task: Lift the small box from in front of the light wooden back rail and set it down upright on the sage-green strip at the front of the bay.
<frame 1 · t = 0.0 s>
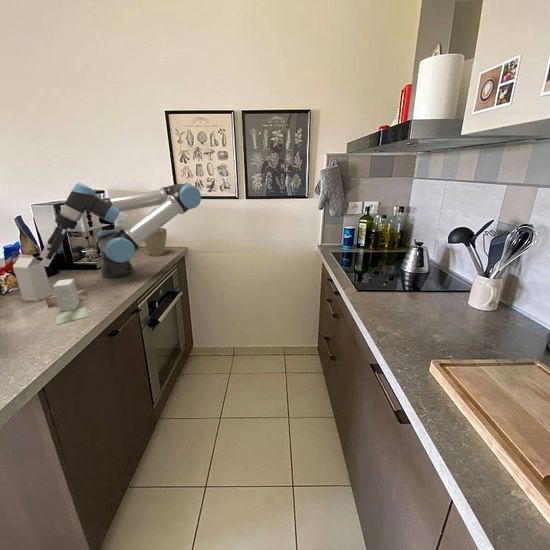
hand: (43, 261, 126), 15 cm above the countertop, tool tilted 35°, fingers open, 13 cm apart
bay: (71, 311, 117), on the countertop
milk carton: (38, 298, 129), on the countertop
small box: (70, 307, 120), on the countertop, touching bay
plant pot: (157, 254, 193), on the countertop
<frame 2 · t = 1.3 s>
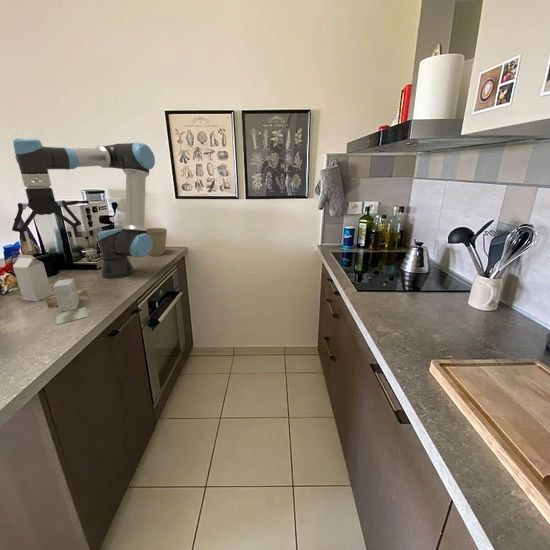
hand: (53, 247, 111), 25 cm above the countertop, tool pointing down, fingers open, 13 cm apart
nothing on the countertop moved.
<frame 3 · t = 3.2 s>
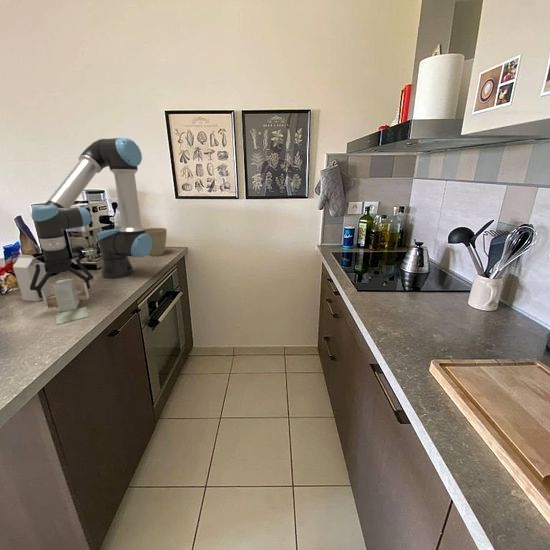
hand: (67, 300, 118), 3 cm above the countertop, tool pointing down, fingers open, 13 cm apart
nothing on the countertop moved.
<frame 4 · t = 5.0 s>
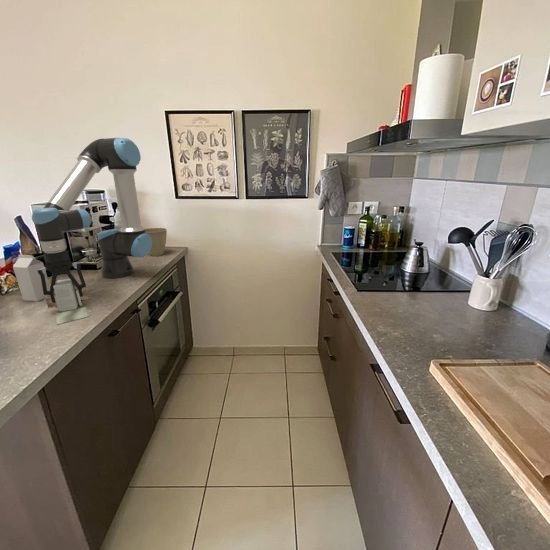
hand: (70, 306, 119), 0 cm above the countertop, tool pointing down, fingers closed on small box, 6 cm apart
small box: (70, 307, 120), on the countertop, touching gripper
everything else where it was.
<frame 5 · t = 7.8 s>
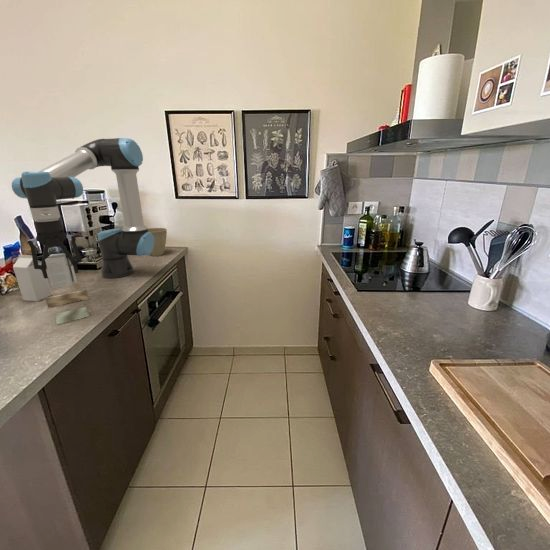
hand: (63, 283, 108), 13 cm above the countertop, tool pointing down, fingers closed on small box, 6 cm apart
small box: (64, 284, 109), point 13 cm above the countertop, touching gripper
everything else where it was.
when the fingers open (1 cm above the countertop, at t = 10.4 s): small box stays where it is, resting on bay.
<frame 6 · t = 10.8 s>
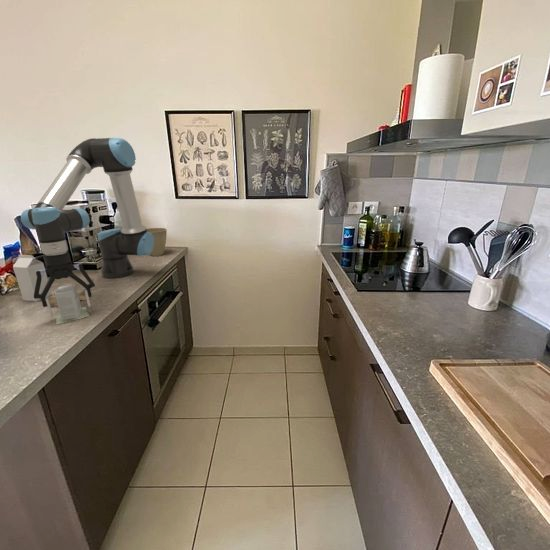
hand: (70, 309, 112), 3 cm above the countertop, tool pointing down, fingers open, 11 cm apart
small box: (72, 315, 113), resting on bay
everything else where it was.
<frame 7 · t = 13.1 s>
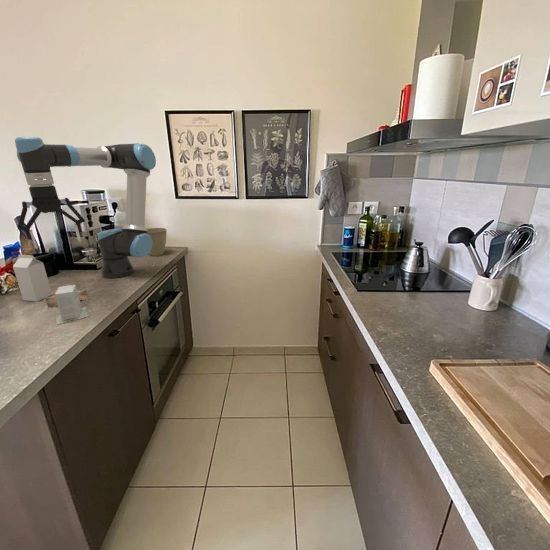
hand: (58, 244, 113), 25 cm above the countertop, tool pointing down, fingers open, 13 cm apart
nothing on the countertop moved.
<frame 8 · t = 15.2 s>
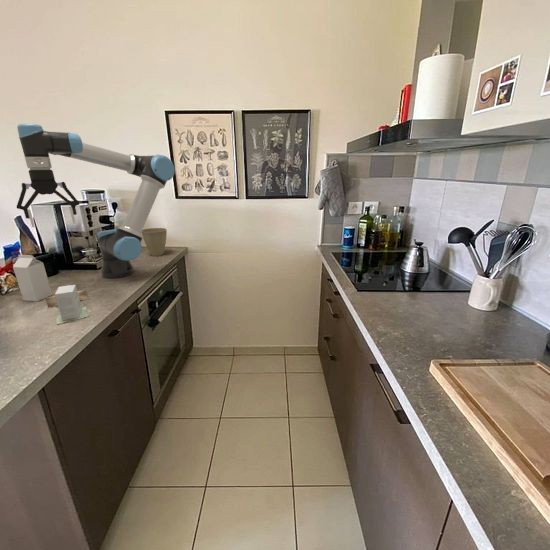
hand: (54, 224, 122), 31 cm above the countertop, tool pointing down, fingers open, 13 cm apart
nothing on the countertop moved.
at the end: small box inside the target area (0.2 cm from its centre), resting on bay; small box tilted 0°; the gripper is holding nothing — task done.
